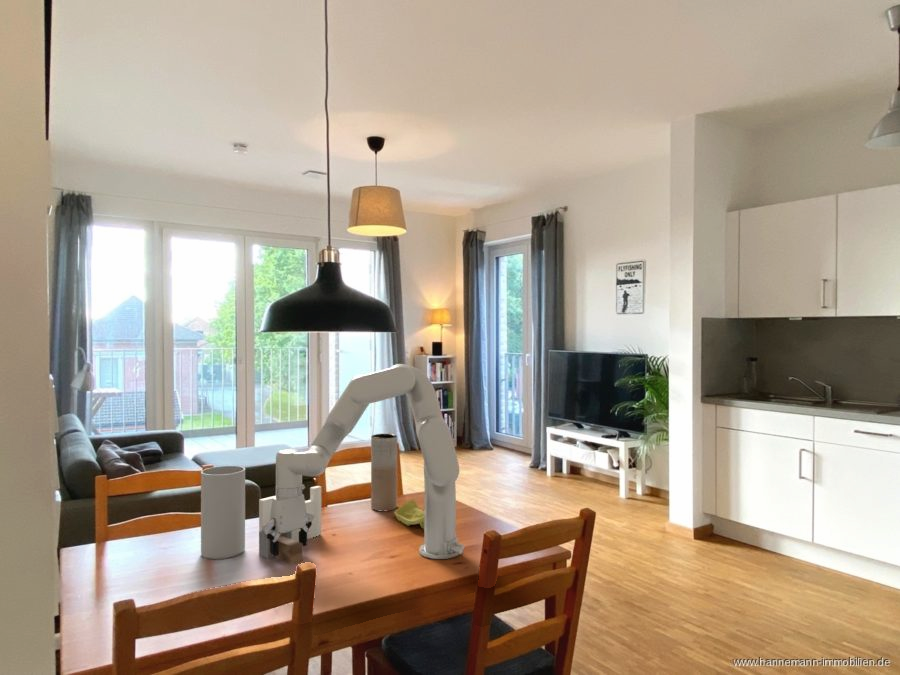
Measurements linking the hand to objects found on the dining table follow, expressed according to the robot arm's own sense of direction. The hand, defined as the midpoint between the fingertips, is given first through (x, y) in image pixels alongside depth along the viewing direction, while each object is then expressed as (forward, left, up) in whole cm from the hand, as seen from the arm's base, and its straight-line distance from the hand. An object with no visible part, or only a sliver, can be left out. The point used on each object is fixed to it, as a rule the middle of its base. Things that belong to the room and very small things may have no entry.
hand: (288, 549), depth 172 cm
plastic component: (-6, -48, -3) cm, 49 cm away
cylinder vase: (+20, +10, -3) cm, 22 cm away
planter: (+17, -54, -3) cm, 57 cm away
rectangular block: (+2, 0, -3) cm, 3 cm away
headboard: (+8, -7, -3) cm, 11 cm away
